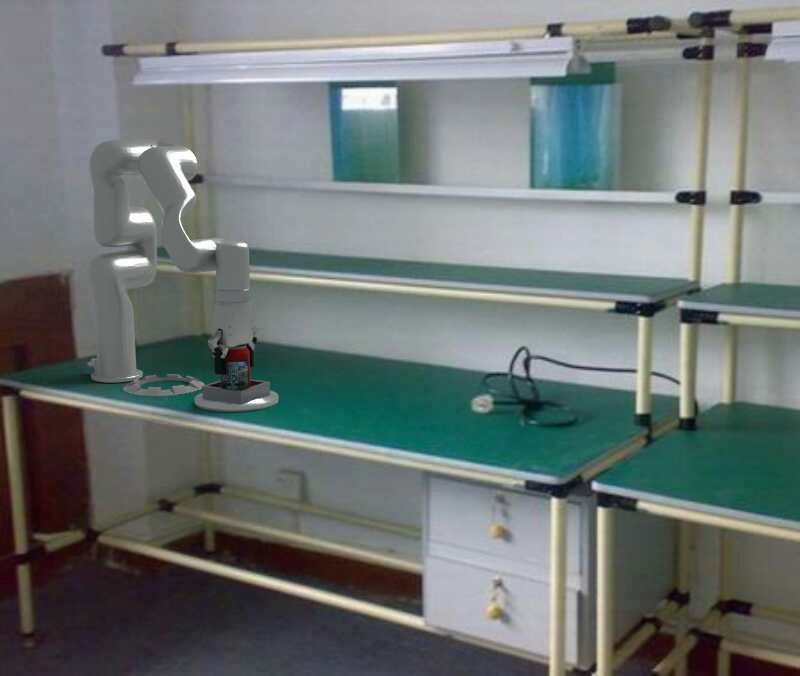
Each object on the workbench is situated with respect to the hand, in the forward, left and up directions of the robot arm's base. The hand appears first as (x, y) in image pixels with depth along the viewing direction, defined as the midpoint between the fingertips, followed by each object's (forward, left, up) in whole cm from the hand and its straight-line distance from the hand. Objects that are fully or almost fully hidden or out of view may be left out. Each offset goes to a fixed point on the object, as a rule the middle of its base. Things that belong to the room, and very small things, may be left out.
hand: (234, 370), depth 259 cm
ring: (-25, +4, -8) cm, 26 cm away
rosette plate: (0, 0, -7) cm, 7 cm away
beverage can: (0, 0, -6) cm, 6 cm away
